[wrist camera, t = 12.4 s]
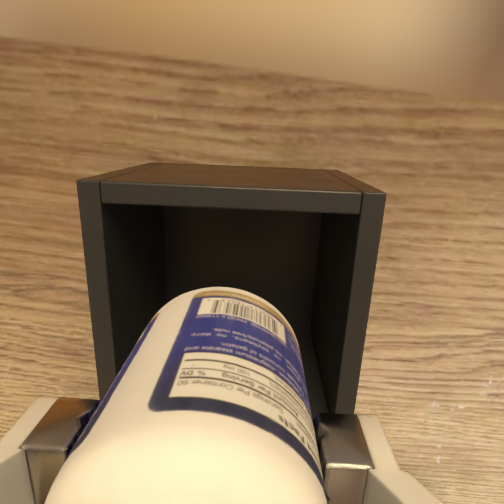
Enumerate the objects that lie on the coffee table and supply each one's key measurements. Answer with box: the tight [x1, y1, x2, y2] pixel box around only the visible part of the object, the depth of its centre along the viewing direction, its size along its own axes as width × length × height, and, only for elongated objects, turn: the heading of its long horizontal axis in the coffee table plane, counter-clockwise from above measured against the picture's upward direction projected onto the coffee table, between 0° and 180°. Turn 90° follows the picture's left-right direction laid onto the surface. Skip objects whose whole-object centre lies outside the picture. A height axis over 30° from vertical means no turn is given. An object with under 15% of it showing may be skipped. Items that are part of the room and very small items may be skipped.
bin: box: [77, 163, 386, 419], centre depth 18 cm, size 11×11×9 cm
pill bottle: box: [45, 287, 327, 504], centre depth 8 cm, size 5×5×9 cm
